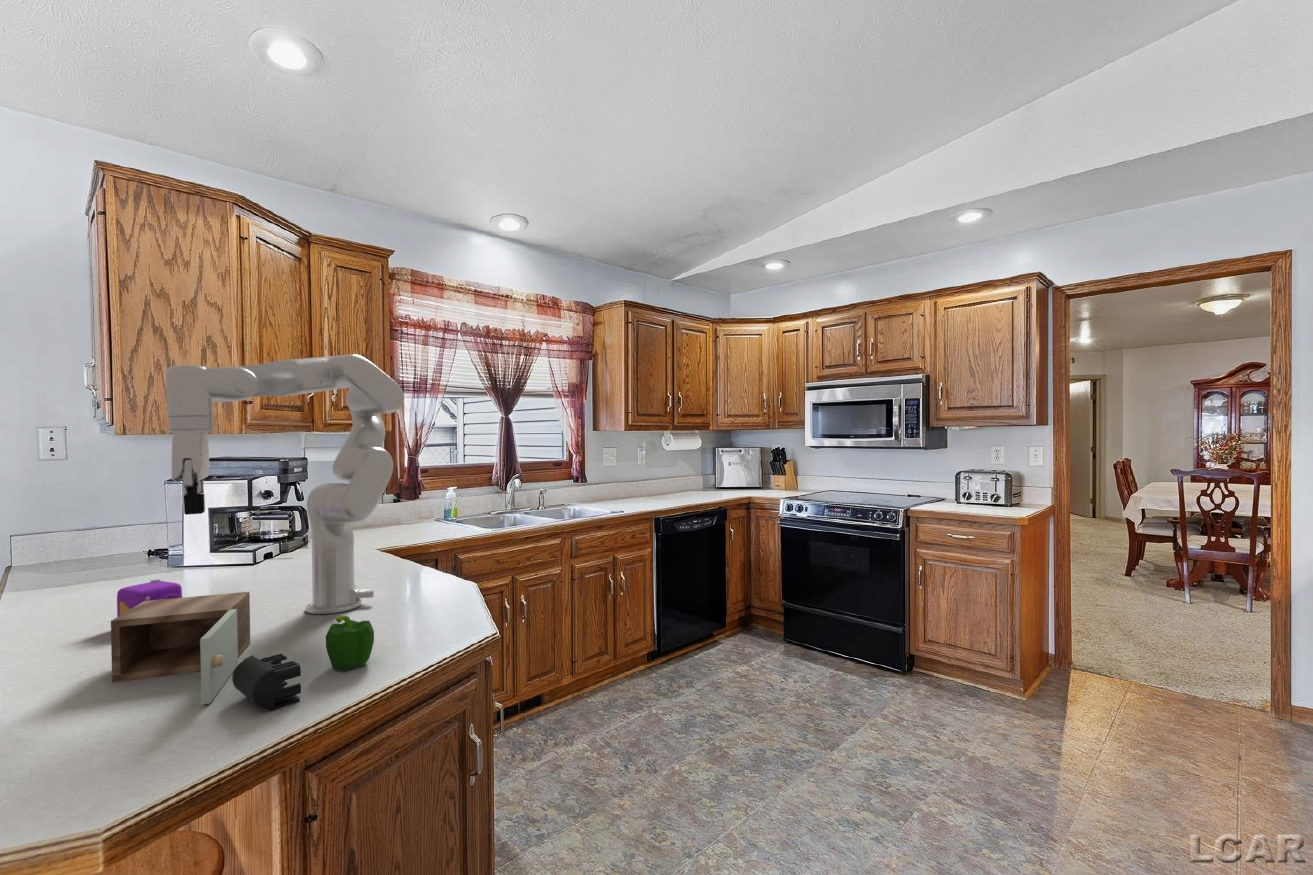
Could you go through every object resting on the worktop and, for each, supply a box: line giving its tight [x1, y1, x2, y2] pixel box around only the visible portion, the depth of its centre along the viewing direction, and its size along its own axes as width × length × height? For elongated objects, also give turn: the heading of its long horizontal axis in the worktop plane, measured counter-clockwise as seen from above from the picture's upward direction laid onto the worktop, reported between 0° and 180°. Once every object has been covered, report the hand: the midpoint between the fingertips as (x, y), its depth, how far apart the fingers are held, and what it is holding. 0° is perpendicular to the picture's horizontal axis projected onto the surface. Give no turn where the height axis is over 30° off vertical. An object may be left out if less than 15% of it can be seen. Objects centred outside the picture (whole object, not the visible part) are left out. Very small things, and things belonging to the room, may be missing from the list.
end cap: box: [231, 653, 302, 712], centre depth 100 cm, size 10×7×7 cm
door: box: [200, 609, 239, 705], centre depth 107 cm, size 18×2×11 cm, turn 23°
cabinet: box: [110, 591, 251, 683], centre depth 119 cm, size 18×14×11 cm
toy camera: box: [116, 578, 183, 618], centre depth 141 cm, size 11×14×10 cm
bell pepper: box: [325, 615, 375, 671], centre depth 115 cm, size 8×8×10 cm
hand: (194, 513), depth 126 cm, fingers closed
